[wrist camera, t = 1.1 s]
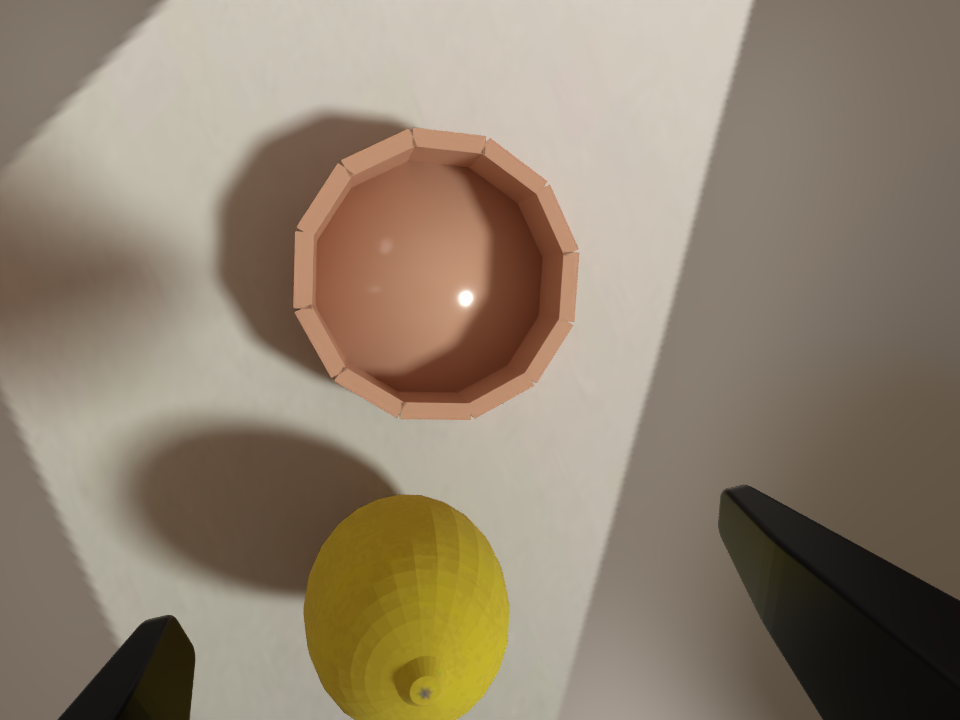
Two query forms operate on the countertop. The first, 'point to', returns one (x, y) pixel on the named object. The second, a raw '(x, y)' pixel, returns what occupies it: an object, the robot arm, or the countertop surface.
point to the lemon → (406, 612)
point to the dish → (435, 275)
